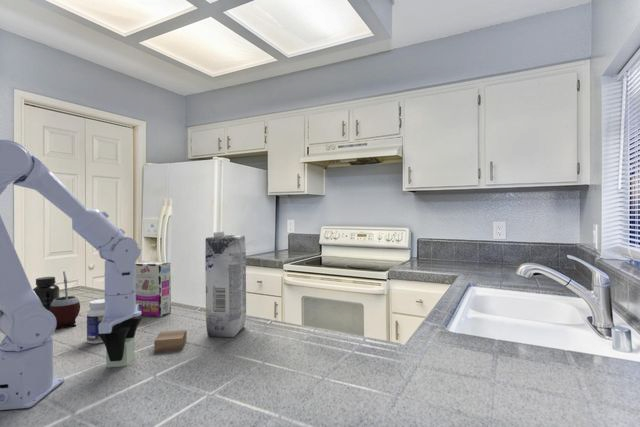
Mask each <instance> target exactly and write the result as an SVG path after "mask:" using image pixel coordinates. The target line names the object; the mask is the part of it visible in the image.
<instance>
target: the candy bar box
mask: <svg viewBox="0 0 640 427" xmlns="http://www.w3.org/2000/svg"><path fill="white" fill-rule="evenodd" d="M135 287H136V290H135V291H136V304H139V311H141V313H142V314H141V315H140V316H141V317H142V316H144V317H154V318H155V317H156V318H162V317H165V316H167V315H169V314H172V313H171V312H172V309H171V308H172V307H171V306H172V305H171V304H172V303H171V299H172V298H171V297H172V296H171V295H172V294H171V292H172V291H171V262H162V261H161V262H160V261H159V262H157V261H156V262H155V261H154V262H153V261H151V262H150V261H140V262H139V261H138V262H135Z"/></svg>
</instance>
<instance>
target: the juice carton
mask: <svg viewBox="0 0 640 427" xmlns="http://www.w3.org/2000/svg"><path fill="white" fill-rule="evenodd" d="M212 234H213V236H212V237H210V236H209V237H208V236H207V237H205V250H204V251H205V253H204V254H205V255H204V256H205V257H204V258H205V260H204V261H205V262H204V263H205V267H204V268H205V325H206V333H207V334H206V335H207V336H208V337H212V338H213V337H215V338H219V337H220V338H224V337H225V338H233V337H235V336H236V335H237V334H238V333H239V332H240V331H241V330H242V329H244V327H245V325H246V320H247V319H246V318H247V260H246V259H247V255H246V254H247V252H246V236H245V235H241V234H240V235H239V234H237V235H235V234H231V235H229V234H228V235H227V234H226V235H225V231H224V230H223V231H215V232H212Z"/></svg>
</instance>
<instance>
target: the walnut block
mask: <svg viewBox="0 0 640 427" xmlns="http://www.w3.org/2000/svg"><path fill="white" fill-rule="evenodd" d="M187 338H188V337H187V329H178V330H165V331H160V332H159V334H158V335H157V336H156V337H155V339H154V340H153V341H154V349H153V350H154V353H161V352H171V351H172V352H173V351H182V350H184V349H183V348H185V344H186V343H187Z"/></svg>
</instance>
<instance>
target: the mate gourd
mask: <svg viewBox="0 0 640 427" xmlns="http://www.w3.org/2000/svg"><path fill="white" fill-rule="evenodd" d="M62 275H63V284H64V295H65V296H60V298H56V299H54V300H53V301H52V303H51V306H50V312H51V313H52V314H53V315H54V316H55V318H56V322H57V323H56V329H55V331H58V330H60V329H62V328H66V327H67V328H75V327H76V326H77V324H76V319H78V318H77V317H78V316H79V315H80V310H81V303H80V302H81V301H80V299H79V298H78V297H77V296H74V295H70V296H69V295H68V293H69V292H68V279H67V274H66V271H62Z"/></svg>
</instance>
